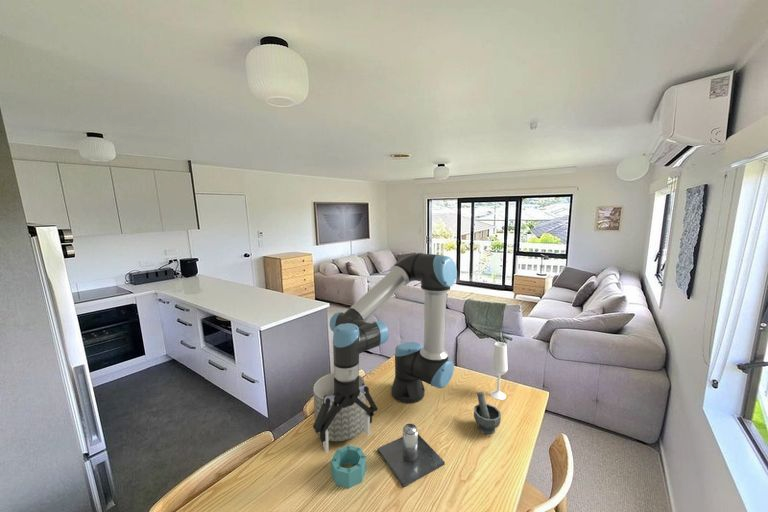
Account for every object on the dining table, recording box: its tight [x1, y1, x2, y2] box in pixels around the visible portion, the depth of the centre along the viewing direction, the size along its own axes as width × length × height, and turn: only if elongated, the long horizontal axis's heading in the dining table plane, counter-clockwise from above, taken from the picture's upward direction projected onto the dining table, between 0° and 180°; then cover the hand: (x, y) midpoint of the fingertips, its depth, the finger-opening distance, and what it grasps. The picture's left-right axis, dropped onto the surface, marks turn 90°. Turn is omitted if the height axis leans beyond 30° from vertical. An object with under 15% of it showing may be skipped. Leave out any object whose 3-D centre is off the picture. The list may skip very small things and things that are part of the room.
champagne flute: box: [490, 341, 509, 401], centre depth 130 cm, size 7×7×24 cm
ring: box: [330, 444, 367, 489], centre depth 92 cm, size 10×10×5 cm
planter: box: [313, 372, 367, 442], centre depth 110 cm, size 19×19×18 cm
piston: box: [377, 423, 446, 488], centre depth 97 cm, size 16×16×11 cm
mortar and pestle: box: [473, 391, 502, 435], centre depth 111 cm, size 11×9×12 cm
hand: (347, 441), depth 90 cm, fingers open, 13 cm apart
